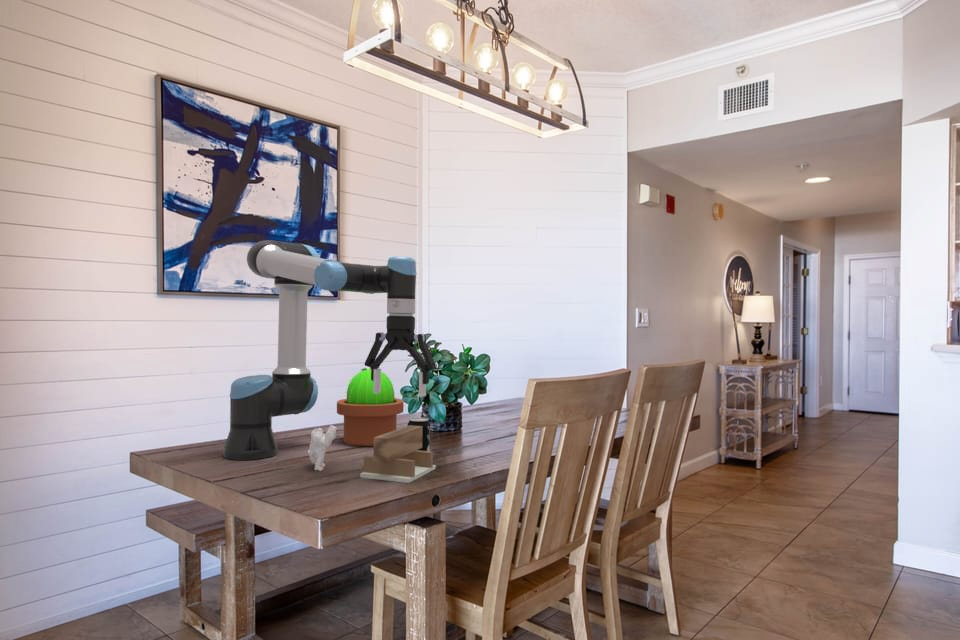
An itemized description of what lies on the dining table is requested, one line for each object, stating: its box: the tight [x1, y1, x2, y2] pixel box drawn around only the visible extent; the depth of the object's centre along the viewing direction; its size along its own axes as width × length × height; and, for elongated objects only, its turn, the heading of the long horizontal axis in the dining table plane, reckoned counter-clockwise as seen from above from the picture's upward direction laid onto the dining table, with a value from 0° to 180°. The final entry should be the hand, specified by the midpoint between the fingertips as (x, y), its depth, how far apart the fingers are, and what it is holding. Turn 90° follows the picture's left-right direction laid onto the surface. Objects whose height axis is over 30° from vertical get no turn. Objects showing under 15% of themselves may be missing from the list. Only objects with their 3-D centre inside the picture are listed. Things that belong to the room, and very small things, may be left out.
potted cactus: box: [336, 367, 405, 447], centre depth 204 cm, size 22×22×25 cm
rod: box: [372, 425, 423, 463], centre depth 162 cm, size 4×20×6 cm, turn 160°
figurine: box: [307, 425, 338, 472], centre depth 166 cm, size 10×5×12 cm, turn 52°
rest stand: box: [359, 450, 437, 484], centre depth 162 cm, size 14×16×5 cm
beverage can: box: [407, 417, 431, 452], centre depth 177 cm, size 7×7×12 cm
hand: (399, 394), depth 162 cm, fingers open, 13 cm apart
